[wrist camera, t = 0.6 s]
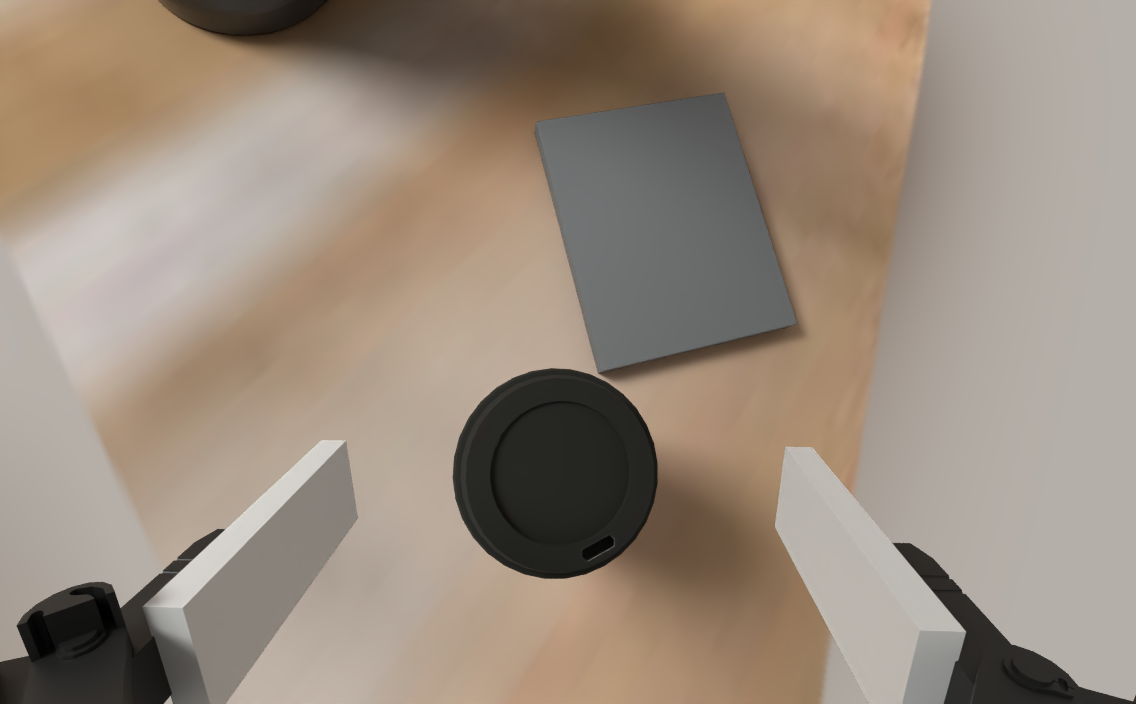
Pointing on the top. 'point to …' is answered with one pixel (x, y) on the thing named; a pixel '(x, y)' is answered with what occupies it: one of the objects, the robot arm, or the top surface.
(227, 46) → the top surface
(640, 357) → the mat
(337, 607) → the top surface
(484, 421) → the coffee cup
